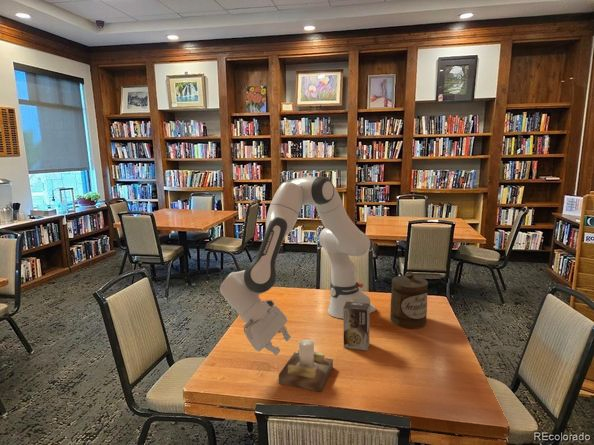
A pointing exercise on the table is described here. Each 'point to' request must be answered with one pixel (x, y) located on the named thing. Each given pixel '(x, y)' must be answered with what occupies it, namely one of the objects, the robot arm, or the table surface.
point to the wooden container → (409, 301)
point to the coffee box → (356, 325)
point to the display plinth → (306, 373)
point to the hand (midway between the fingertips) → (283, 346)
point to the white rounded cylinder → (306, 353)
